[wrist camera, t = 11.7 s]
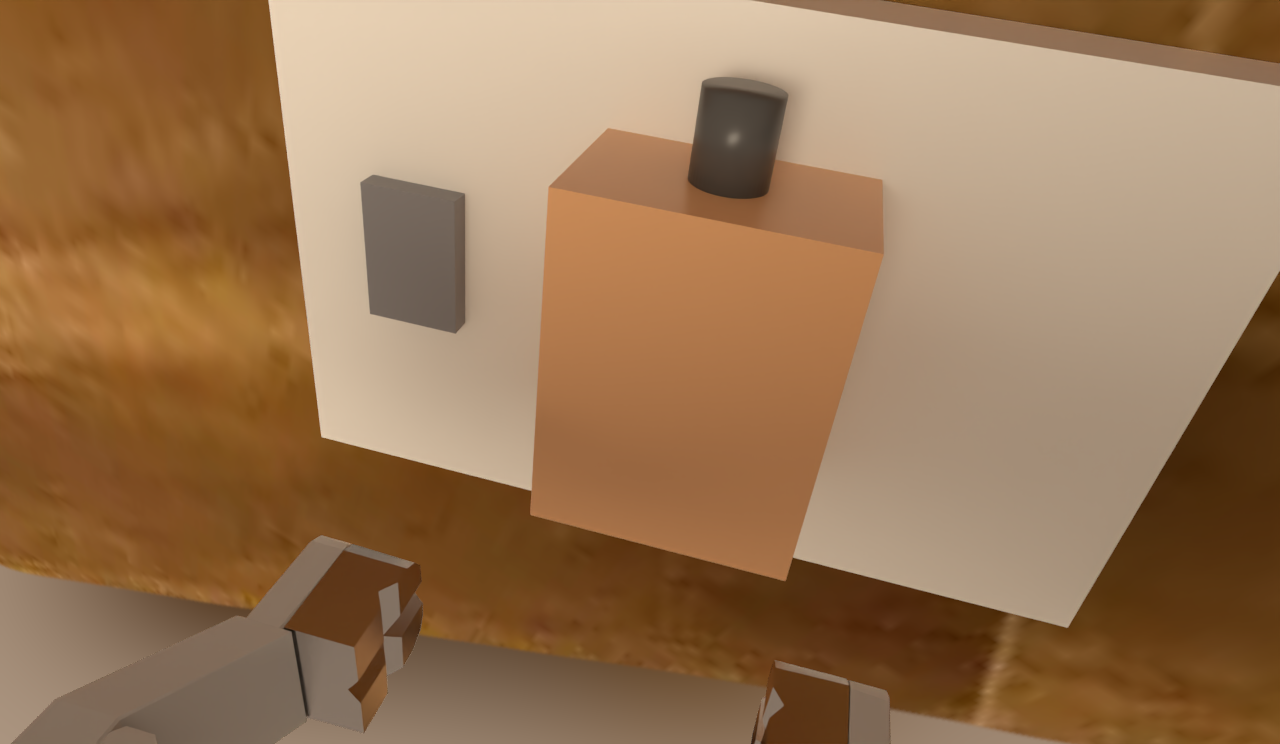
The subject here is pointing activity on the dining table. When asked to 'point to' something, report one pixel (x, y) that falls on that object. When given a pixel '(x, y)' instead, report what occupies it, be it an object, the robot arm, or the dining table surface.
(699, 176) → the plug
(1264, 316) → the dining table surface
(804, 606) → the dining table surface
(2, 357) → the dining table surface
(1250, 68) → the socket plate
